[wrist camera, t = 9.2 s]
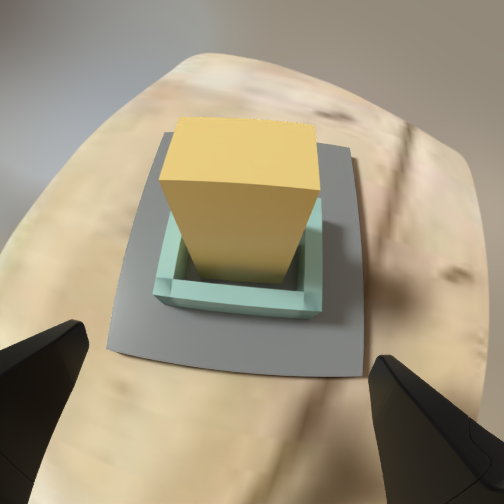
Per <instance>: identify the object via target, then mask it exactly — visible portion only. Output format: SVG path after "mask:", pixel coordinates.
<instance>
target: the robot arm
mask: <svg viewBox="0 0 504 504" xmlns="http://www.w3.org/2000/svg"><path fill="white" fill-rule="evenodd" d="M88 349H89V340H88V337H87V333H86V330H85V326H84V324H83V323H82V322H81V321H77V320H73V319H71V320H69V321H66V322H64V323H62V324H59V325H57V326H55V327H52V328H50V329H48V330H46V331H43V332H41V333H39V334H36V335H34V336H32V337H30V338H27V339H25V340H23V341H20V342H18V343H16V344H14V345H11V346H9V347H7V348H5V349H2V350H0V504H28V501H29V498H30V494H31V491H32V488H33V485H34V482H35V479H36V476H37V473H38V470H39V468H40V465H41V462H42V459H43V457H44V454H45V452H46V449H47V447H48V444H49V442H50V439H51V437H52V434H53V432H54V430H55V427H56V425H57V423H58V420H59V418H60V416H61V414H62V411H63V409H64V407H65V405H66V403H67V401H68V398H69V396H70V394H71V392H72V390H73V388H74V386H75V383H76V380H77V378H78V375H79V372H80V370H81V367H82V364H83V362H84V359H85V357H86V354H87V352H88ZM368 383H369V391H370V400H371V409H372V419H373V425H374V431H375V435H376V440H377V445H378V450H379V456H380V461H381V467H382V472H383V478H384V484H385V491H386V498H387V504H504V442H503V441H501V440H500V439H499V438H497V437H496V436H494V435H493V434H491V433H490V432H488V431H487V430H485V429H484V428H483V427H482V426H480V425H479V424H478V423H476V422H475V421H474V420H473V419H472V418H470V417H469V418H468V415H466V414H465V413H464V412H463V411H461V410H460V409H459V408H458V407H456V406H455V405H454V404H453V403H451V402H450V401H449V400H448V399H446V398H445V397H444V396H443V395H441V394H440V393H439V392H437V391H436V390H435V389H434V388H432V387H431V386H430V385H429V384H427V383H426V382H425V381H424V380H422V379H421V378H420V377H419V376H417V375H416V374H415V373H414V372H412V371H411V370H410V369H408V368H407V367H406V366H405V365H403V364H402V363H401V362H400V361H398V360H397V359H396V358H394V357H393V356H392V355H379V356H378V357H377V358H376V360H375V363H374V365H373V367H372V369H371V371H370V374H369V378H368Z"/></svg>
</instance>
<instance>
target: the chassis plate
mask: <svg viewBox="0 0 504 504" xmlns="http://www.w3.org/2000/svg"><path fill="white" fill-rule="evenodd" d="M173 134H174V132H165V133H164V136H163V138H162V141H161V143H160V146H159V148H158V151H157V154H156V156H155V159H154V162H153V164H152V167H151V170H150V173H149V176H148V179H147V182H146V184H145V187H144V190H143V194H142V197H141V200H140V203H139V206H138V209H137V213H136V216H135V219H134V223H133V226H132V230H131V233H130V237H129V241H128V244H127V248H126V252H125V256H124V260H123V264H122V268H121V273H120V277H119V282H118V286H117V291H116V296H115V301H114V306H113V311H112V317H111V322H110V328H109V334H108V341H107V348H106V349H107V350H111V351H115V352H119V353H124V354H128V355H133V356H137V357H142V358H147V359H152V360H157V361H163V362H168V363H174V364H180V365H186V366H193V367H200V368H207V369H215V370H223V371H232V372H242V373H254V374H267V375H283V376H311V377H350V376H362V373H363V350H364V288H363V265H362V248H361V235H360V224H359V213H358V204H357V196H356V188H355V180H354V173H353V166H352V160H351V153H350V148H347V147H342V146H336V145H330V144H323V143H316V144H317V155H318V166H319V178H320V192H319V195H318V198H317V200H316V203H315V205H314V208H313V210H312V213H311V215H310V217H309V220H308V222H307V225H306V227H305V230H304V232H303V235H302V237H301V239H300V242H299V244H298V247H297V249H296V251H295V254H294V256H293V258H292V261H291V263H290V266H289V268H288V270H287V273H286V275H285V277H284V279H283V282H282V284H266V283H252V282H240V281H227V280H215V279H204V278H200V276H199V274H198V271H197V269H196V267H195V265H194V263H193V260H192V258H191V256H190V254H189V251H188V249H187V247H186V245H185V242H184V240H183V238H182V235H181V233H180V231H179V228H178V226H177V224H176V221H175V219H174V217H173V214H172V212H171V209H170V207H169V205H168V202H167V200H166V197H165V195H164V192H163V190H162V187H161V185H160V182H159V177H160V174H161V170H162V167H163V164H164V161H165V158H166V155H167V152H168V149H169V146H170V143H171V140H172V137H173Z"/></svg>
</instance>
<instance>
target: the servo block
mask: <svg viewBox="0 0 504 504" xmlns="http://www.w3.org/2000/svg"><path fill="white" fill-rule="evenodd" d="M159 182H160V185H161V187H162V190H163V192H164V195H165V197H166V200H167V202H168V205H169V207H170V209H171V212H172V214H173V217H174V219H175V221H176V224H177V226H178V228H179V231H180V233H181V235H182V238H183V240H184V242H185V245H186V247H187V249H188V251H189V254H190V256H191V258H192V260H193V263H194V265H195V267H196V269H197V271H198V274H199V276H200V278H204V279H215V280H227V281H240V282H252V283H266V284H282V282H283V279H284V277H285V275H286V273H287V270H288V268H289V266H290V263H291V261H292V258H293V256H294V254H295V251H296V249H297V247H298V244H299V242H300V239H301V237H302V235H303V232H304V230H305V227H306V225H307V222H308V220H309V217H310V215H311V213H312V210H313V208H314V205H315V203H316V200H317V198H318V195H319V192H320V178H319V166H318V155H317V144H316V134H315V125H308V124H300V123H291V122H281V121H270V120H257V119H240V118H208V117H188V118H179V120H178V123H177V126H176V128H175V131H174V134H173V137H172V140H171V143H170V146H169V149H168V152H167V155H166V158H165V161H164V164H163V167H162V170H161V174H160V177H159Z"/></svg>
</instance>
